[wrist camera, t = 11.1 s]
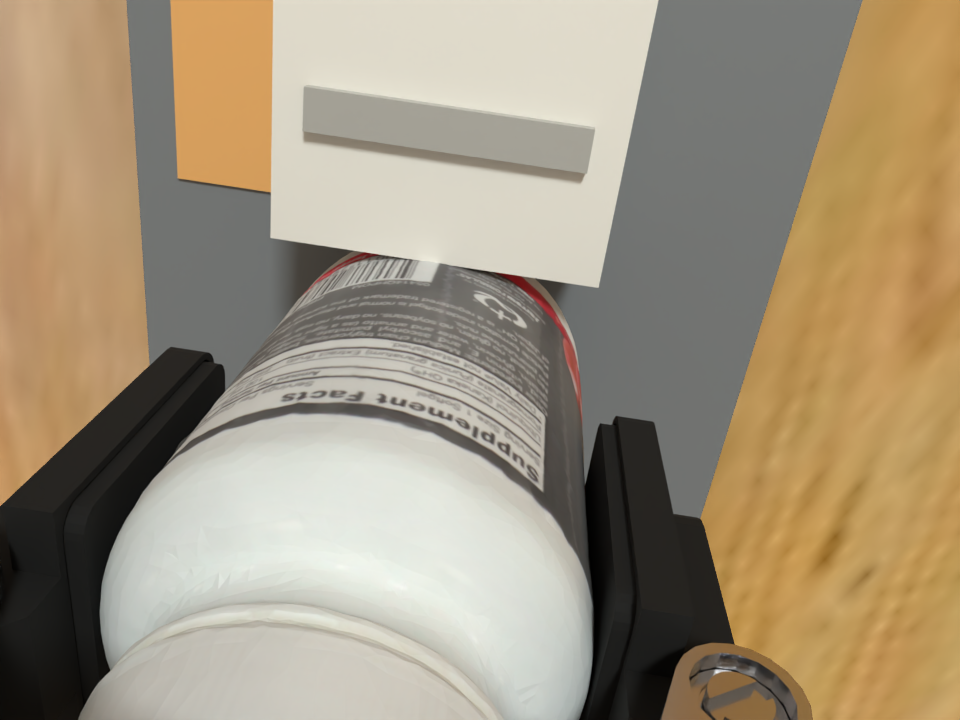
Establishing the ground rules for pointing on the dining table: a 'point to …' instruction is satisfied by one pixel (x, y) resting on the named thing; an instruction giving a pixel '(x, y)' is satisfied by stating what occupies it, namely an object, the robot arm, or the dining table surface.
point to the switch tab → (456, 128)
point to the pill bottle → (368, 518)
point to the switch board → (587, 310)
